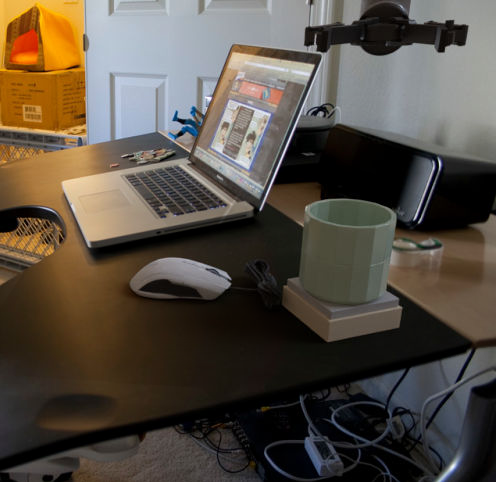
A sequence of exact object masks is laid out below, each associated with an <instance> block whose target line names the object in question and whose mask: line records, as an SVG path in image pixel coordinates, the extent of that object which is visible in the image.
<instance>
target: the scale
mask: <svg viewBox="0 0 496 482" xmlns="http://www.w3.org/2000/svg"><path fill="white" fill-rule="evenodd" d="M399 302H400V298H399V297H397V296H395V295H394V294H393V293H391V292H389V291H387V290H386V292H385V293H384V294H383V295H382V296H381V297H379V298H377V299H374V300H373V301H370V302H367V303H363V304H338V303H333V302H329V301H325V300H322V299H320V298H317V297H315V296H313V295H312V294H310V293H309V292H308V291H307V290H306V289H304V288H303V286H302V285H301V283H300V282H299V276H298V277H292V278H288V279H287V284H286V285H283V286H282V299H281V305H282V306H283V307H284V308H285V309H286V310H288V311H289V312H290V313H291V314H292V315H294V317H296V318H298V320H300V322H302V323H303V324H304V325H306V326H307V327H308V328H309V329H310V330H311V331H313V332H314V333H315V334H317V335H318V336H319V337H320V338H321V339H323V340H324V341H325V342H327V343H331V342H336V341H342V340H345V339H350V338H355V337H361V336H366V335H370V334H374V333H380V332H386V331H389V330H395V329H399V328H400V325H401V319H402V312H403V307H402V306H401V305H399V304H400V303H399Z"/></svg>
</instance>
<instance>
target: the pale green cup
mask: <svg viewBox="0 0 496 482" xmlns="http://www.w3.org/2000/svg"><path fill="white" fill-rule="evenodd" d="M303 218H304V219H303V227H302V240H301V251H300V261H299V271H298V272H299V273H298V277H299V282H300V283H301V285H302V286H303V288H304V289H306V290H307V291H308V292H309V293H310V294H312V295H313V296H315V297H317V298H320V299H322V300H325V301H329V302H333V303H338V304H363V303H367V302H370V301H373V300H374V299H377V298H379V297H381V296H382V295H383V294H384V293H385V292H386V291H387V286H388V281H389V280H388V279H389V274H390V268H391V267H390V266H391V261H392V253H393V246H394V240H395V233H396V232H395V231H396V226H397V219H398V218H397V213H396V212H395V211H394V210H392V209H391V208H389V207H388V206H384V205H381V204H380V203H376V202H372V201H368V200H362V199H353V198H328V199H323V200H317V201H314V202H311V203H310V204H308V205H306V206H305V210H304V217H303Z"/></svg>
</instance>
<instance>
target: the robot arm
mask: <svg viewBox="0 0 496 482" xmlns="http://www.w3.org/2000/svg"><path fill="white" fill-rule="evenodd" d="M411 2H412V0H360V10H359V18H358V20H353V21H352V22H351V23H350V24H346V23H344V22H340V21H336V22H333V23H329V24H322V25H321V24H320V25H314V26H312V25H308V26H305V27H304V32H303V33H304V36H303V47H306V48H307V47H308V48H309V47H311V46H315V52H317V53H321V54H324V53H325V54H326V53H328V52H329V50H330V48H331V46H338V45H348V44H349V45H350V46H354V47H359V48H360V49H361V50H362V51H363V52H365V53H366V54H368V55H371V56H375V57H384V56H389V55H392V54H393V53H395V52H397V51H398V50H400V49H401V48H402V47H405V46H406V47H407V46H413V45H414V44H421V45H430V46H434V50H435V51H436V53H437V54H444V53H446V48H447V47H450V46H451V45H452V46H457V47H465V46H466V44H467V39H468V35H469V27H470V25H468V24H466V23H464V24H459V23H455V19H446V20H445V22H438V21H434V20H429V21H428V20H427V21H426V22H423V23H417V21H416V19H411V18H410V12H411V4H412V3H411Z"/></svg>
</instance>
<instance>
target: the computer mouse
mask: <svg viewBox="0 0 496 482" xmlns="http://www.w3.org/2000/svg"><path fill="white" fill-rule="evenodd" d="M269 271H270V265H269V264H268V263H267V262H266V261H265V260H263V259H259V258H257V259H252V260H251V261H250V262H246V263H245V265H244V267H243V272H244V273H245V274H246V275H247V276H248V277H249V278H250V279H251V280H252V281H253V282H254V283H255V284H256V286H257V288H246V287H236V286H231V285H232V283H231V282H230V281H232V278H231V277H230V275H229V274H228V272H226V271H224V270H221V269H219V268H217V267H214V266H211V265H208V264H205V263H202V262H198V261H195V260H193V259H187V258H182V257H163V258H159V259H156V260H154V261H152V262H150V263H148V264H146V265H145V266H143V267H142V268H141V269H140V270H139V271H138V272H137V273H135V274H134V276H133V277H132V278H131V280H130V281H129V287H130V289H131V290H132V291H133V292H134V293H135V294H136V295H138V296H140V297H145V298H150V299H159V300H161V299H162V300H171V299H172V300H174V299H196V300H197V299H198V300H205V301H213V300H215V299H217V298H218V297H220V296H221V295H222V294H223V293H224V292H230V291H231V290H235V291H244V292H258V293H259V294H260V296H261V299H262V301H263V303H264V306H265V307H266V308H267V309H268V310H272V309H273V306H279V305H280V304H281V301H280V297H281V296H280V295H281V294H282V291H281V290H279V289H277V285H278V283H277V281H276V278H275V277H274V275H272V274H271V273H270V272H269ZM268 303H269V304H268Z"/></svg>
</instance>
